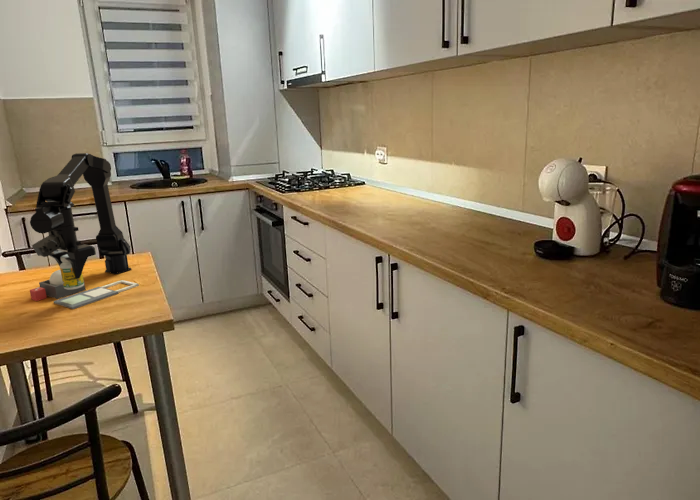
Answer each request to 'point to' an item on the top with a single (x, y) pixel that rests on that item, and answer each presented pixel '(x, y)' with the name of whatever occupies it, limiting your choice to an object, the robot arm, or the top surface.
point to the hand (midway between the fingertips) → (72, 276)
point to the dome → (56, 278)
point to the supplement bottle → (69, 275)
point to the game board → (92, 295)
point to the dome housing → (52, 291)
